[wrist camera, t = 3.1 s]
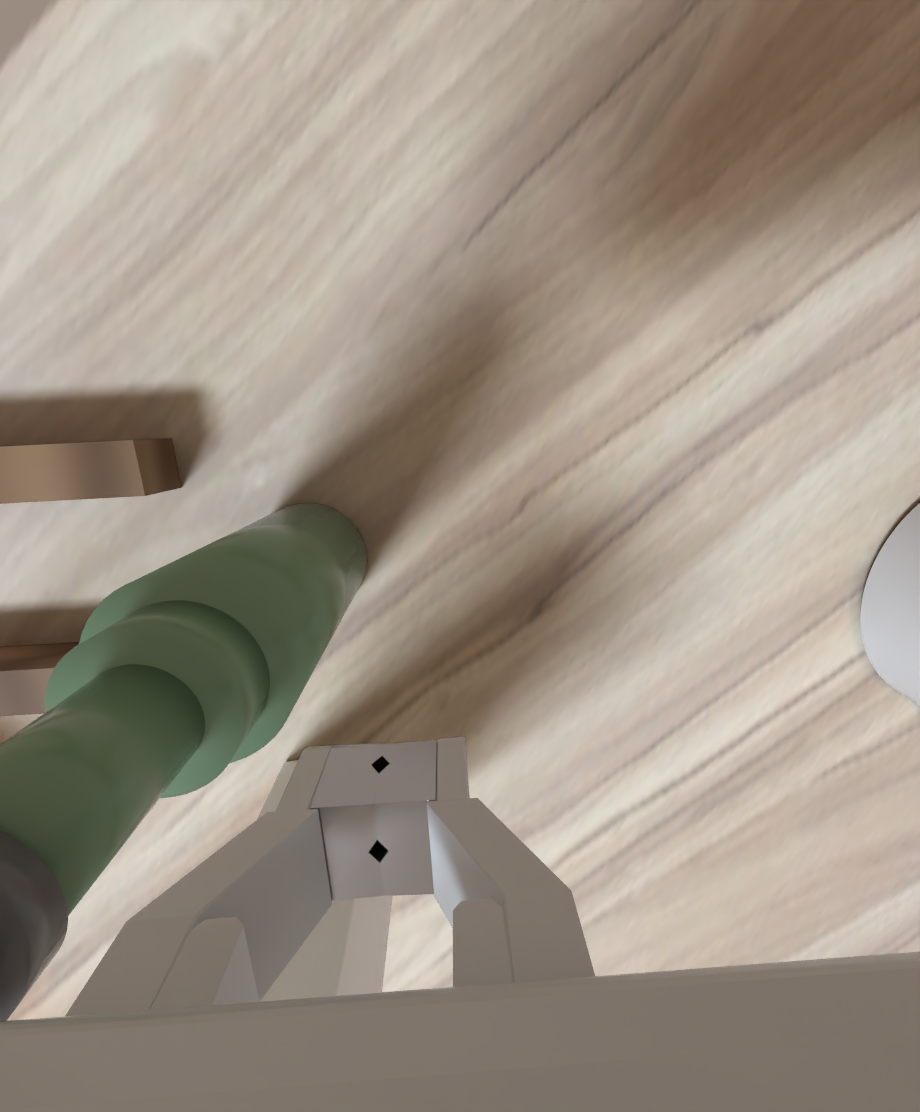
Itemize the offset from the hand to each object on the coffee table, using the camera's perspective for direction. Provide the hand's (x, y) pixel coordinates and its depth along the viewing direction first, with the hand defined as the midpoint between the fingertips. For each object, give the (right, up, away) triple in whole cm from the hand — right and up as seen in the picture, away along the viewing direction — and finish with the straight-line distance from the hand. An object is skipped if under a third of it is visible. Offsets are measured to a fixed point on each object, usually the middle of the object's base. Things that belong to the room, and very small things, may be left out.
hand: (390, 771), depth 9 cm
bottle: (-6, +4, +16) cm, 18 cm away
